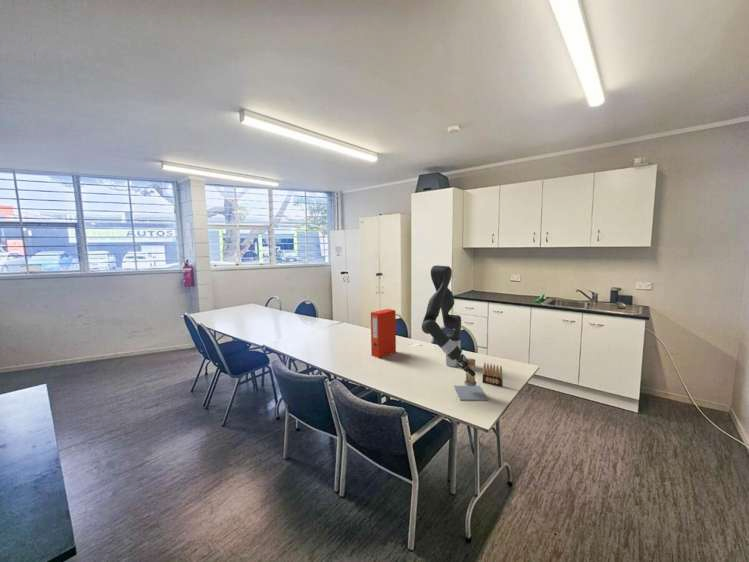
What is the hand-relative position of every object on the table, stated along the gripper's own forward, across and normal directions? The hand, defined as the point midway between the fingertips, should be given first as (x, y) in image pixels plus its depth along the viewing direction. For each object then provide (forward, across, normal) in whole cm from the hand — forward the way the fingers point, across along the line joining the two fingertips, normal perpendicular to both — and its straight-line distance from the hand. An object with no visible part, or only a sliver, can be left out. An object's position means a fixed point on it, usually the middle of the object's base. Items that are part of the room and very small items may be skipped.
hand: (474, 373), depth 167 cm
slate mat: (+7, 0, +9) cm, 11 cm away
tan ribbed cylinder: (+3, 0, +6) cm, 6 cm away
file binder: (-37, +48, +53) cm, 80 cm away
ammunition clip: (+15, +15, +1) cm, 21 cm away
